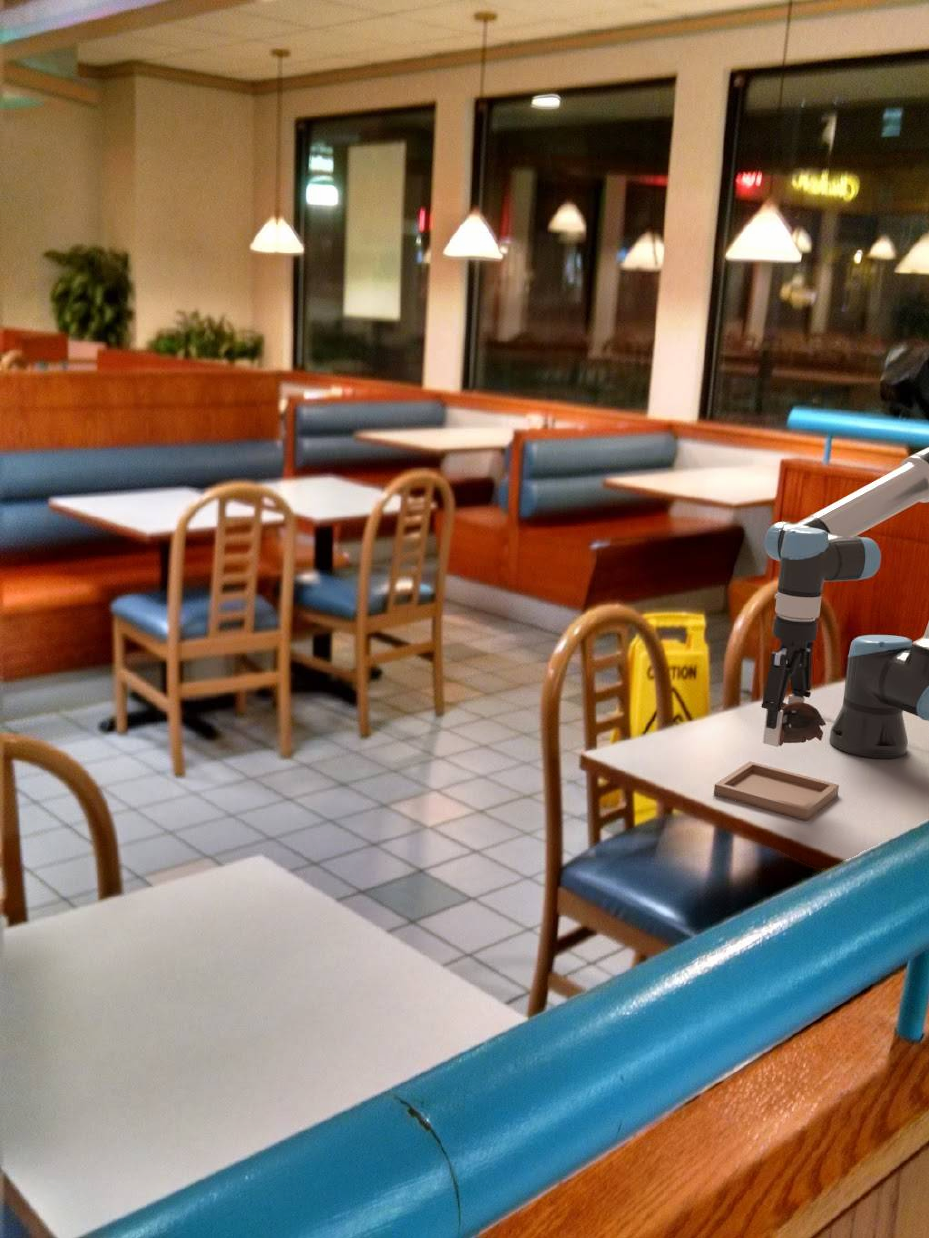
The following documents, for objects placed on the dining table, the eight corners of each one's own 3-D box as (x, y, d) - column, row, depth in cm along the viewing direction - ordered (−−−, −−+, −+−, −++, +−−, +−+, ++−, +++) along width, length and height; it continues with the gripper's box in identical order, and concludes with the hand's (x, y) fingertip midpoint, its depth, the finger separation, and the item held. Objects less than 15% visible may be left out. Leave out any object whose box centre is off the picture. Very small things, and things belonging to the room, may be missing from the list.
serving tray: (748, 771, 231) (749, 761, 231) (837, 795, 221) (839, 784, 221) (713, 794, 219) (714, 784, 219) (806, 821, 209) (807, 810, 209)
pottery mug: (837, 746, 216) (837, 715, 210) (798, 775, 213) (796, 743, 208) (789, 711, 224) (787, 680, 219) (750, 738, 222) (747, 707, 216)
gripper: (799, 602, 223) (785, 718, 228) (750, 623, 205) (736, 747, 211) (839, 609, 218) (824, 727, 224) (792, 631, 201) (777, 758, 207)
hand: (782, 737), depth 217 cm, fingers closed on pottery mug, 9 cm apart
